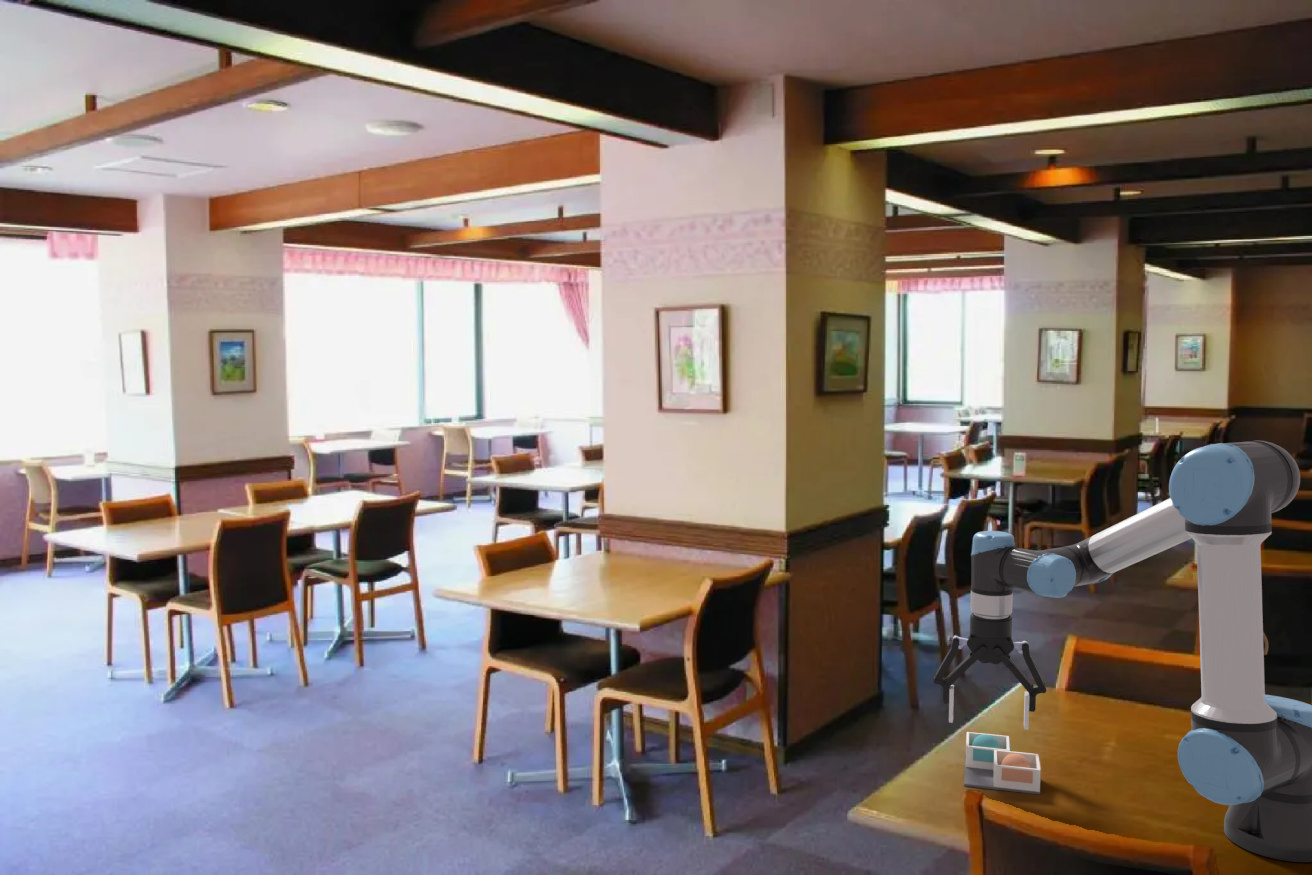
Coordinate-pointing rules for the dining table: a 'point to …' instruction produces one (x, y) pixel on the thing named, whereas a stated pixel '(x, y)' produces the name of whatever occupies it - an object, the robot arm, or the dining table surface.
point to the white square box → (1017, 772)
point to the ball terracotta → (1015, 761)
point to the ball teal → (985, 741)
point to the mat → (984, 779)
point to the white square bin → (983, 751)
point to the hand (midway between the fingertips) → (988, 724)
